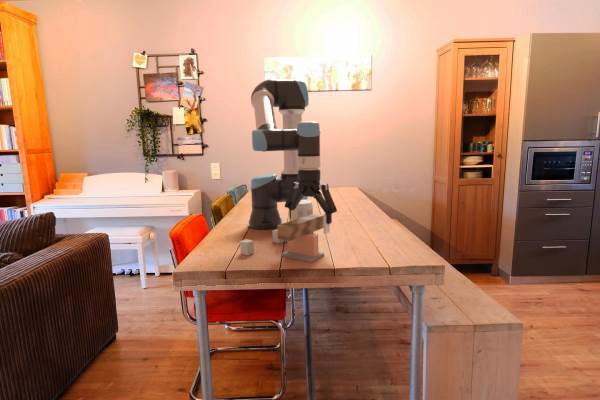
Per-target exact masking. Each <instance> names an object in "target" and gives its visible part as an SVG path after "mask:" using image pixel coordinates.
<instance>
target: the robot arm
mask: <svg viewBox="0 0 600 400" xmlns="http://www.w3.org/2000/svg"><path fill="white" fill-rule="evenodd" d="M309 99H310V98H309V91H308V87H307V83H306V82H305V81H304V80H303V79H295V78H288V79H287V78H286V79H283V78H281V79H279V78H277V79H275V78H274V79H273V78H270V79H266V80H264V81H262V82H260V83H259V84H258V85H256V86H255V87H254V89H252V92H251V95H250V102H251V106H252V108H253V109H254V119H255V129H253V130H252V131H251V143H252V150H253V151H254V152H263V153H264V152H279V151H283V170H281V172H280V176H277V174H276V173H267V174H262V175H257V176H255V177H252V178H251V180H250V190H251V191H250V192H251V212H250V216H249V217H250V218H249V220H248V227H249V228H250V229H254V230H271V229H278V228H277V225H280V224H283V223H282V222H283V220H282V218H281V215H280V212H279V209H278V203H285V204H284V208H287V209H288V211H289V210H290V218H291V221H293V220H296V219H298V215H297V209H295V208H296V206H297V205H298V204H299V202H300V201H301V200H308V198H309V197H310V198H312V197H313V198H314V199H315V200H316V202H317V203H318V205H319V206H320V208H321V209H322V211H323V212H324V214H322V215H323V223H324V228H323V234H324V235H327V234H329V233H330V232H331V224H332V221H333V217H332V216H333V214H334V213H337V212H338V209H337V207H336V204H335V202H334V200H333V197H332V195H331V192H330V189H329V188H330V187H329V184H328V183H324V184H321V183H320V181H321V169H320V168H321V142H320V141H321V131H320V128H321V127H320V123H319V122H317V121H303V117H302V116H303V114H304V113H305V111H306V108H307V107H308V106H309V103H310V102H309ZM274 108H278V112H279V113H280V114H281V115H282V128H279V129H278V128H277V121H276V116H275V111H274ZM293 200H294V201H293Z"/></svg>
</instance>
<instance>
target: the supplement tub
mask: <svg viewBox="0 0 600 400" xmlns="http://www.w3.org/2000/svg"><path fill="white" fill-rule="evenodd" d="M293 201H294V200H293ZM313 207H314V206H313V200H310V199H307V200H301V201H300V202H299V204H298V205H297V206H296V208H295V209H297V215H298V219H299V218H302V217H305V216H308V215H312V214H314V209H313ZM288 220H289V221H288V222H290V221H291V218H290V210H289V209H288ZM312 234H314V232H312Z"/></svg>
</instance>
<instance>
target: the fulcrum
mask: <svg viewBox="0 0 600 400" xmlns="http://www.w3.org/2000/svg"><path fill="white" fill-rule="evenodd" d="M324 256H325V252H322V251H321V252H320V251H319V234H318V233H317V234H316V233H313V234H312V233H309V234H307V235H304V236H301V237H299V238H296V239H294V240H291V241H287V250H286V251H283V252H281V257H285V258H289V259H294V260H299V261H302V262H307V263H310V264H311V263H313V262H315V261H316V260H318V259H321V258H322V257H324Z"/></svg>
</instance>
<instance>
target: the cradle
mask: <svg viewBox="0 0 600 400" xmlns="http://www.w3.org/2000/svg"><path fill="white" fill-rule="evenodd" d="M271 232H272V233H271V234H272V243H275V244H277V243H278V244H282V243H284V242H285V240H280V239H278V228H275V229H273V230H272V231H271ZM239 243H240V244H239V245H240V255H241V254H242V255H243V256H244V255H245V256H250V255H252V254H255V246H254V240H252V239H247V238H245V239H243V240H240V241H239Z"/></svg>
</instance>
